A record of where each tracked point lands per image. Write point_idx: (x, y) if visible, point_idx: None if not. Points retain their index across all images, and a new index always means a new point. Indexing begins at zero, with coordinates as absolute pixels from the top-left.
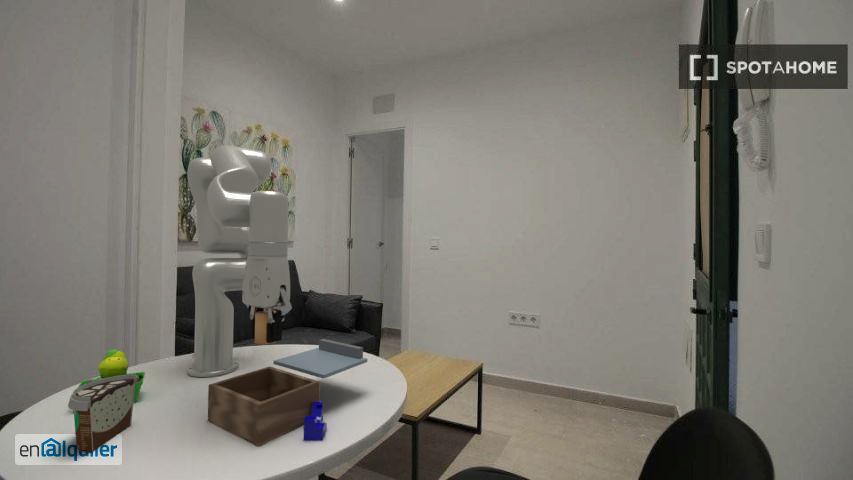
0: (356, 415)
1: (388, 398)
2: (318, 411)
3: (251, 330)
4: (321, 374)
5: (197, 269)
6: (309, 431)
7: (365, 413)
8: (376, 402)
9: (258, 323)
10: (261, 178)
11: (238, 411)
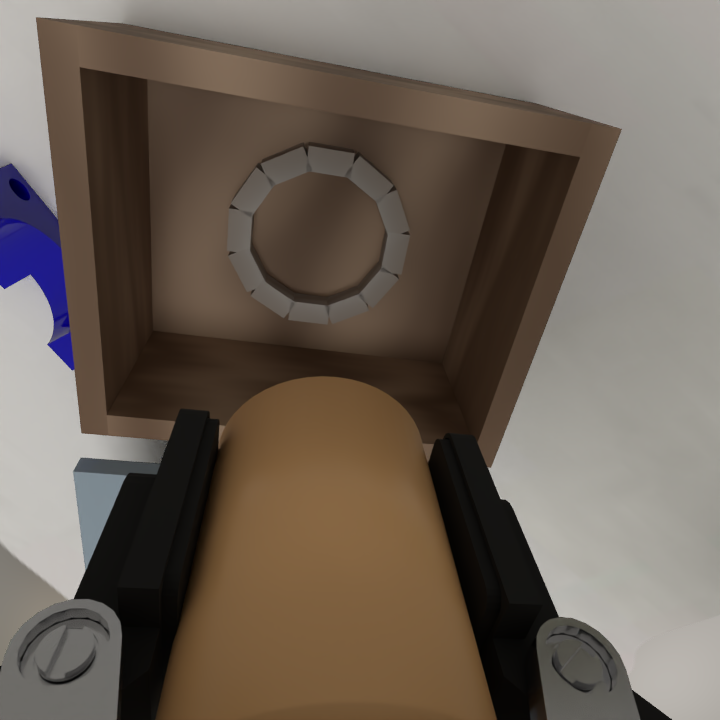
0: (29, 410)
1: (48, 546)
2: (64, 319)
3: (491, 491)
4: (92, 472)
5: None
6: None
7: (15, 435)
8: (58, 510)
9: (315, 551)
10: None
11: (281, 59)
